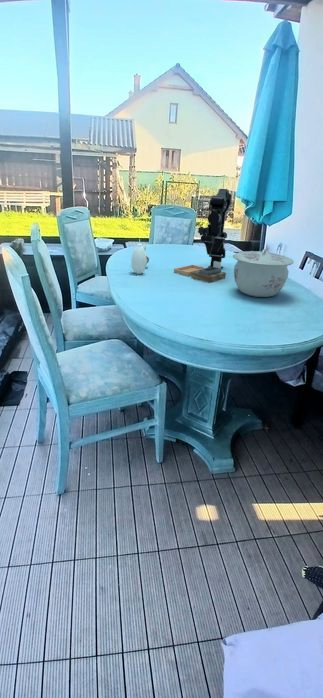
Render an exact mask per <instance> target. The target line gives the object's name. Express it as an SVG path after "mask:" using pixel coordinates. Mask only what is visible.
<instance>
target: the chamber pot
mask: <svg viewBox="0 0 323 698" xmlns="http://www.w3.org/2000/svg"><path fill="white" fill-rule="evenodd" d="M232 258H233V259H235V260H237V262H236V263H235V264H234V267H233V275H234V283H235V285H236V287H237V289H238V290H239V292H241V293H243V294H244V295H248V296H249V297H254V298H269V297H274V296H275V295H277V294H278V293H279V292H280V291H281V290H282V289H283V288H284V286H285V284H286V282H287V279H288V277H289V269H288V266H291V265H293V264H295V261H294V260H293V259H292V258H290V257H288V256H285V255H281V254H278V253H274V252H268V251H267V249H266V248H263V249H262V251H259V250H258V251H257V250H256V251H255V250H253V251H252V250H249V251H240V252H235V253H233V255H232Z"/></svg>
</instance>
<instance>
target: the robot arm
mask: <svg viewBox="0 0 323 698" xmlns="http://www.w3.org/2000/svg"><path fill="white" fill-rule="evenodd" d="M209 199H210V200H209V204H208V209H207V211H209V212H210V213H209V214H208V216H207V222H208V224H207V227H204V226H199V227H198V230H197V233H198V234H199V236H200V241H201V242H202V243H203V244H204V245H205V250H206V254H207V255H208V257H209V258H210V264H209V266H207V268H208V267H213V263H214V261H217V262H221V263H222V259H225V258H226V251H227V250H226V248H225V243H224V242H225V240H226V239H227V238H228V233H227V232H226V231H224V229H225V222H226V215H227V213H228V211H229V210H230V206H232V200H233V198H232V194H231V193H230V192H229V189H228V188H219V189H218V192H217V194H215V195H212V196H211V197H210V198H209ZM221 268H222V269H223V268H224V266H222V265H221Z"/></svg>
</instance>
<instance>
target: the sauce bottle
mask: <svg viewBox="0 0 323 698" xmlns="http://www.w3.org/2000/svg"><path fill="white" fill-rule="evenodd" d="M138 240H139V241H138V243H137V244H136V246H135V248H134V250H133V252H132V256H131V263H130V264H131V267H132V270H133V272H135V274H137V275H140V274H143V272H145V270H146V268H147V265H146V264H148V263H147V258H146V256H147V254H146V249H145V250H144V248H145V247H143V244H142V243H141V239H140V238H139V239H138Z"/></svg>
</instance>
